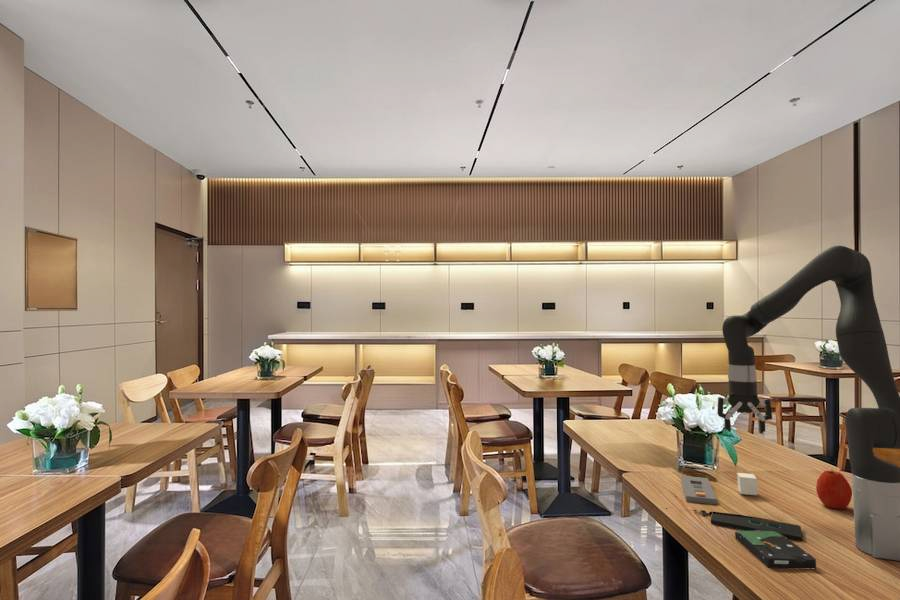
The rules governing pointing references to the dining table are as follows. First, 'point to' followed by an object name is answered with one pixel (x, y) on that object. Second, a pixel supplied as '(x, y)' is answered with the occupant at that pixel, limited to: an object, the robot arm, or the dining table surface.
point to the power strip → (698, 490)
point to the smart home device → (756, 524)
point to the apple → (834, 490)
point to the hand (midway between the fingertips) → (744, 432)
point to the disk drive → (775, 549)
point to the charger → (747, 484)
